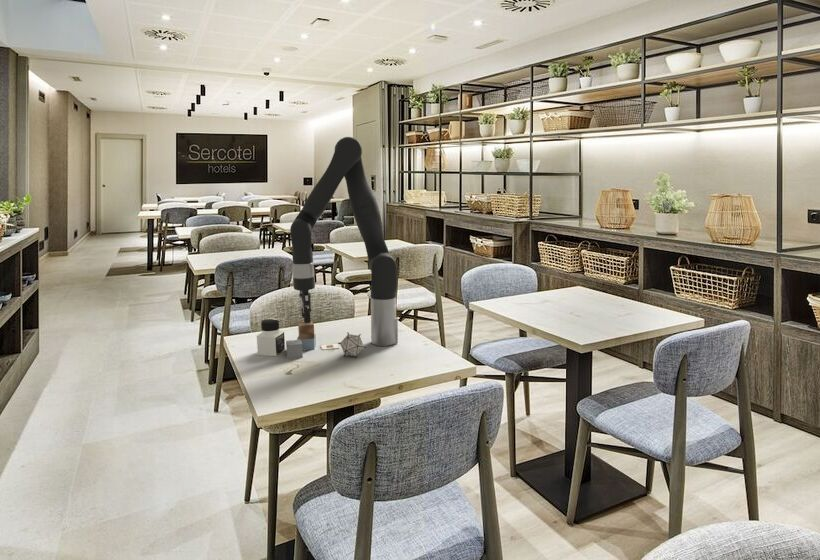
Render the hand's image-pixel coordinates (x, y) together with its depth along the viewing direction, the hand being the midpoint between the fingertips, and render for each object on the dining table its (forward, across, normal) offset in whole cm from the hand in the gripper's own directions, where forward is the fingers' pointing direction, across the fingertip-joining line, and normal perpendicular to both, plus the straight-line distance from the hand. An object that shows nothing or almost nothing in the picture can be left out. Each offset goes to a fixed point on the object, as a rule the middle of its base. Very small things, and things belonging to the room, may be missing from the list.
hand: (306, 319), depth 203 cm
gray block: (+10, -9, +5) cm, 15 cm away
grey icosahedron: (+10, -15, -14) cm, 23 cm away
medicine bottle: (+10, -3, +13) cm, 17 cm away
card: (+10, -3, -8) cm, 13 cm away
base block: (+10, 0, 0) cm, 10 cm away
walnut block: (+6, 0, 0) cm, 6 cm away
